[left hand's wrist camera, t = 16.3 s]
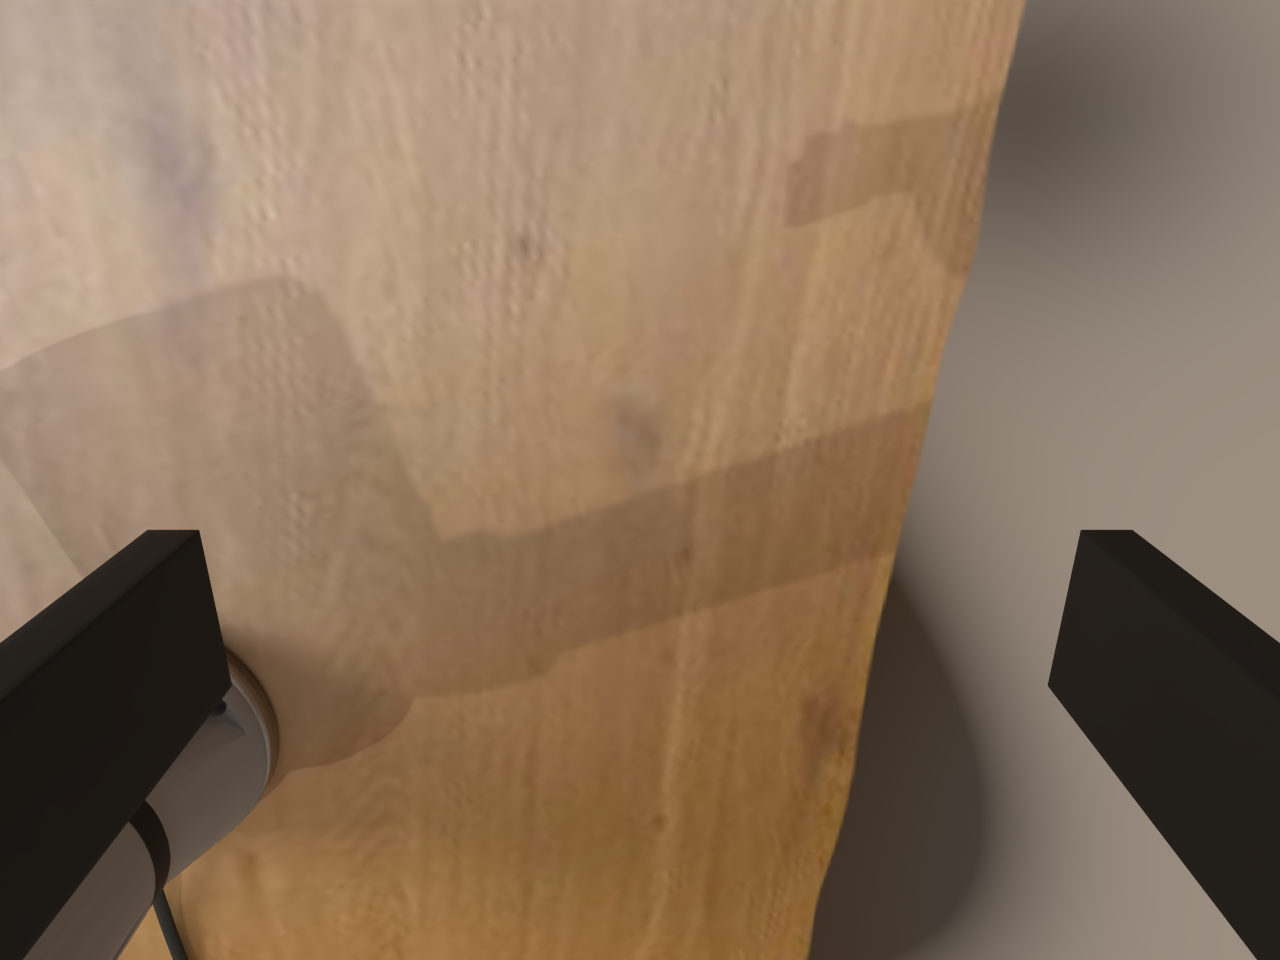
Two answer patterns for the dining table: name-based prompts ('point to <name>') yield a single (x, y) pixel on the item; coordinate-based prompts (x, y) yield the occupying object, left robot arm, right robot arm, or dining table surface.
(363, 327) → the dining table surface
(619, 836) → the dining table surface
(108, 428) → the dining table surface
